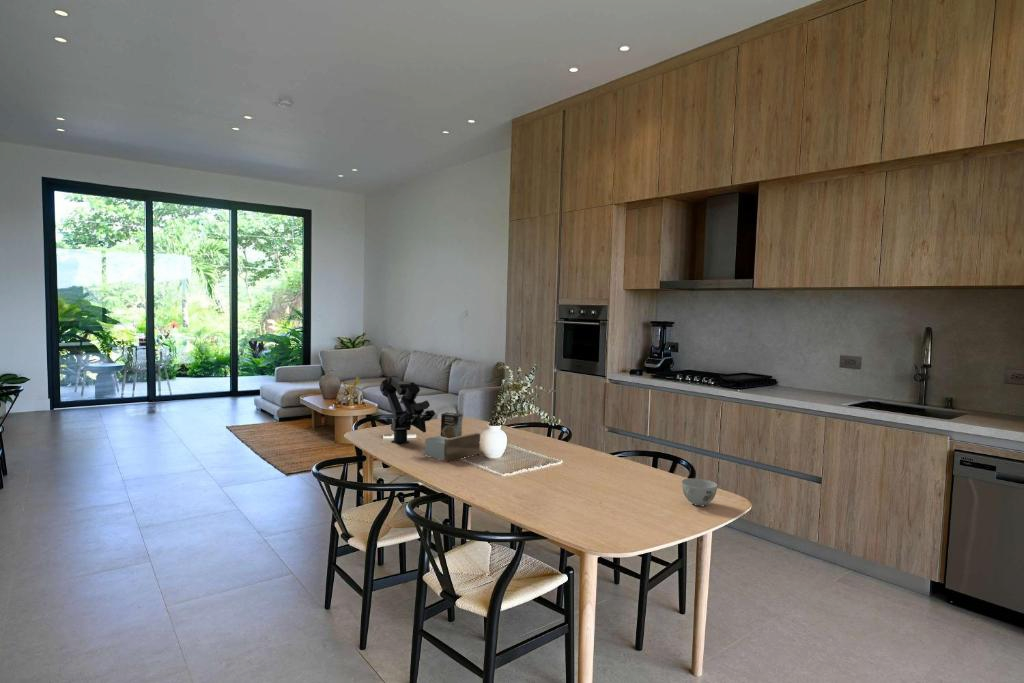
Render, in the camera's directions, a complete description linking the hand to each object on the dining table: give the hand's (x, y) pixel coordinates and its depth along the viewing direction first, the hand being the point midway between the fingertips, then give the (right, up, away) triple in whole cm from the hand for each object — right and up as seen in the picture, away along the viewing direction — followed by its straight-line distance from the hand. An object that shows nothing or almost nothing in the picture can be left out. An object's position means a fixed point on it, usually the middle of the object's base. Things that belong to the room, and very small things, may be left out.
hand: (425, 431), depth 265 cm
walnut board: (+18, -11, -8) cm, 23 cm away
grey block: (+9, -10, -7) cm, 15 cm away
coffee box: (+11, -9, +13) cm, 19 cm away
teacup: (+108, -17, -60) cm, 125 cm away
